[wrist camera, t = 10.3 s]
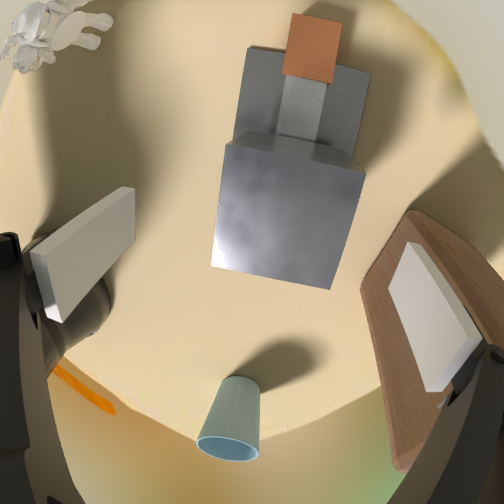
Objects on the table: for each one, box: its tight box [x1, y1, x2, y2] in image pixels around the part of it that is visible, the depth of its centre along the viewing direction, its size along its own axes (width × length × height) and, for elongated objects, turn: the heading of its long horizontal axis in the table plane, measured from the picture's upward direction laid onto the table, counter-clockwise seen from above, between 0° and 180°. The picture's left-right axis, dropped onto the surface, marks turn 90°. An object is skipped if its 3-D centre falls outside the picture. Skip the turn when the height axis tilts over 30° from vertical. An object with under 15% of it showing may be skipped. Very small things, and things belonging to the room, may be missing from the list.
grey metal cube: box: [211, 130, 366, 290], centre depth 19 cm, size 7×7×8 cm
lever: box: [233, 13, 370, 158], centre depth 20 cm, size 10×19×7 cm, turn 171°
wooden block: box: [360, 210, 504, 473], centre depth 19 cm, size 10×10×20 cm
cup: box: [196, 376, 260, 462], centre depth 35 cm, size 8×8×10 cm
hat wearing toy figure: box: [0, 0, 114, 74], centre depth 15 cm, size 9×4×12 cm, turn 138°
